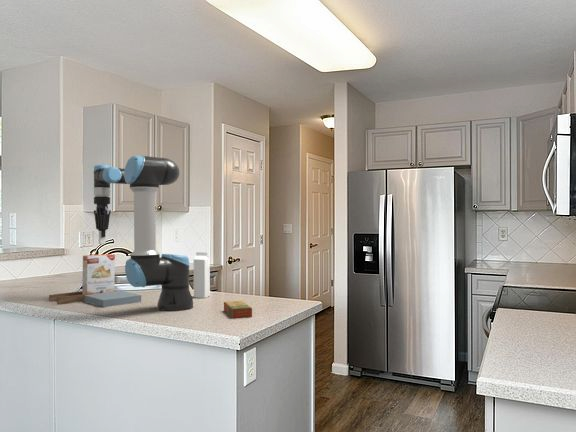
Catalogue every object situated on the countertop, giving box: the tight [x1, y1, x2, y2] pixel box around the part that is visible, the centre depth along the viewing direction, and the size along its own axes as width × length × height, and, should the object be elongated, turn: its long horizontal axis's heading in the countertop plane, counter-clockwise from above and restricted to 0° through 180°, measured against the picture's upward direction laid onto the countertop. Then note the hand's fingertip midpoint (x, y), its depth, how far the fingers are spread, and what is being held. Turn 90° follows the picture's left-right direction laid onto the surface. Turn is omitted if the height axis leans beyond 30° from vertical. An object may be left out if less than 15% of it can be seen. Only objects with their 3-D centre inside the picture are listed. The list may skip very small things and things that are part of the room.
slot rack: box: [48, 290, 93, 305], centre depth 221 cm, size 11×16×3 cm
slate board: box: [83, 290, 142, 308], centre depth 217 cm, size 20×18×3 cm
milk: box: [193, 251, 211, 299], centre depth 230 cm, size 6×6×22 cm
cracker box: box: [81, 253, 116, 294], centre depth 231 cm, size 14×6×21 cm, turn 136°
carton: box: [223, 300, 253, 319], centre depth 189 cm, size 8×16×4 cm, turn 20°
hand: (102, 243), depth 231 cm, fingers closed
